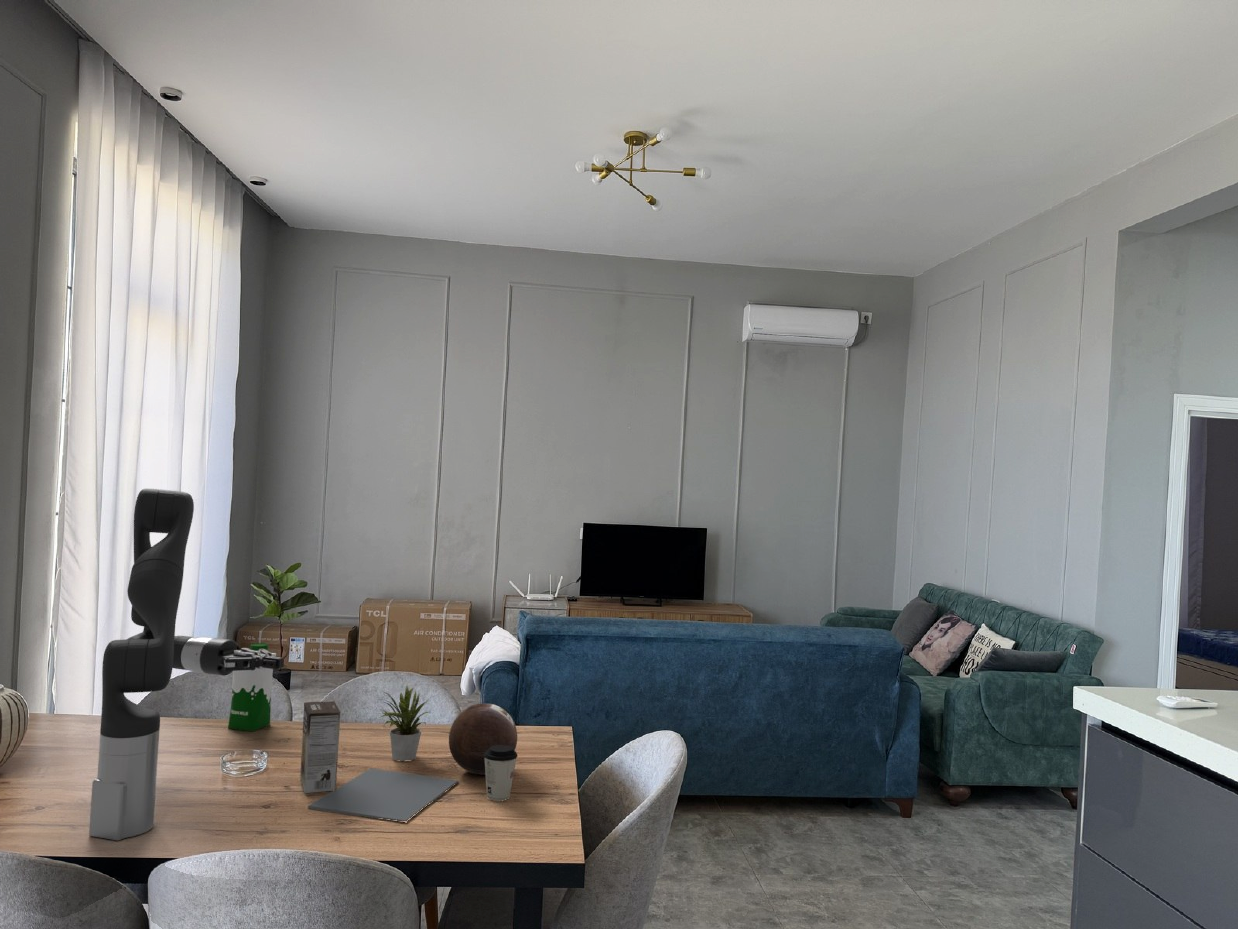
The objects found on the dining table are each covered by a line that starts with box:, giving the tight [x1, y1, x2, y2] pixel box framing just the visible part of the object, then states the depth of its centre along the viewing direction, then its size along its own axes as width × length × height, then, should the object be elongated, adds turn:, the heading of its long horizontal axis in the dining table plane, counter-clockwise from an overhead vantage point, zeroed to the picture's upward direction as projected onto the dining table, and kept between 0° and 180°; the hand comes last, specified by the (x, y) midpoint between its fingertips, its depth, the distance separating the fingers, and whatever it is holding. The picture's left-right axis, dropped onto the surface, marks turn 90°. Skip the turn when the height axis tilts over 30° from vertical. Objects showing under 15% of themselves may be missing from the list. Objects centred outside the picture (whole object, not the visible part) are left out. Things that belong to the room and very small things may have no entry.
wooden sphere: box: [448, 702, 518, 775], centre depth 196 cm, size 15×15×15 cm
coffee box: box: [299, 700, 341, 794], centre depth 183 cm, size 9×6×16 cm
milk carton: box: [227, 642, 277, 732], centre depth 221 cm, size 9×9×20 cm
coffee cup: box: [484, 745, 518, 802], centre depth 181 cm, size 7×7×10 cm
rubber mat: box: [307, 767, 459, 821], centre depth 179 cm, size 24×20×1 cm
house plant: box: [376, 685, 433, 761], centre depth 204 cm, size 14×14×16 cm
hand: (281, 663), depth 186 cm, fingers closed
